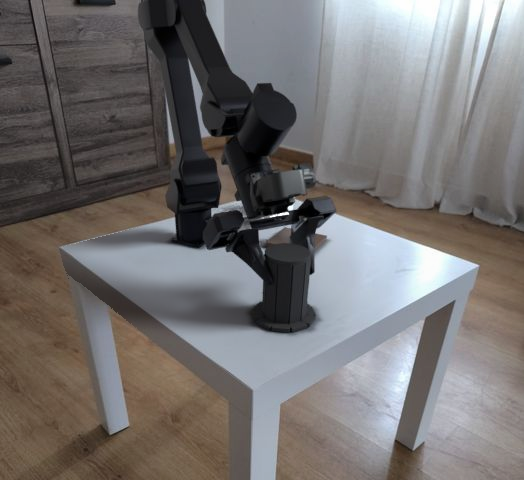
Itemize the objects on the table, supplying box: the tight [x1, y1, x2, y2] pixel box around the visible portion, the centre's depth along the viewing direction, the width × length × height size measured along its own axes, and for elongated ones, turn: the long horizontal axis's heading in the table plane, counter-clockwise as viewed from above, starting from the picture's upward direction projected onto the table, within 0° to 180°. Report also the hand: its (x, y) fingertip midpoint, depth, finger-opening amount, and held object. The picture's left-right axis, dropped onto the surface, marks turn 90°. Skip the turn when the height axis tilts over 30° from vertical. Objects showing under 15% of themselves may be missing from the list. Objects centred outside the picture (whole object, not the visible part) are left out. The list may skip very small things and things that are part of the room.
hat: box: [251, 243, 317, 334], centre depth 69 cm, size 9×9×10 cm
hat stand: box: [264, 225, 328, 253], centre depth 92 cm, size 9×9×6 cm
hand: (291, 278), depth 67 cm, fingers closed on hat, 6 cm apart
